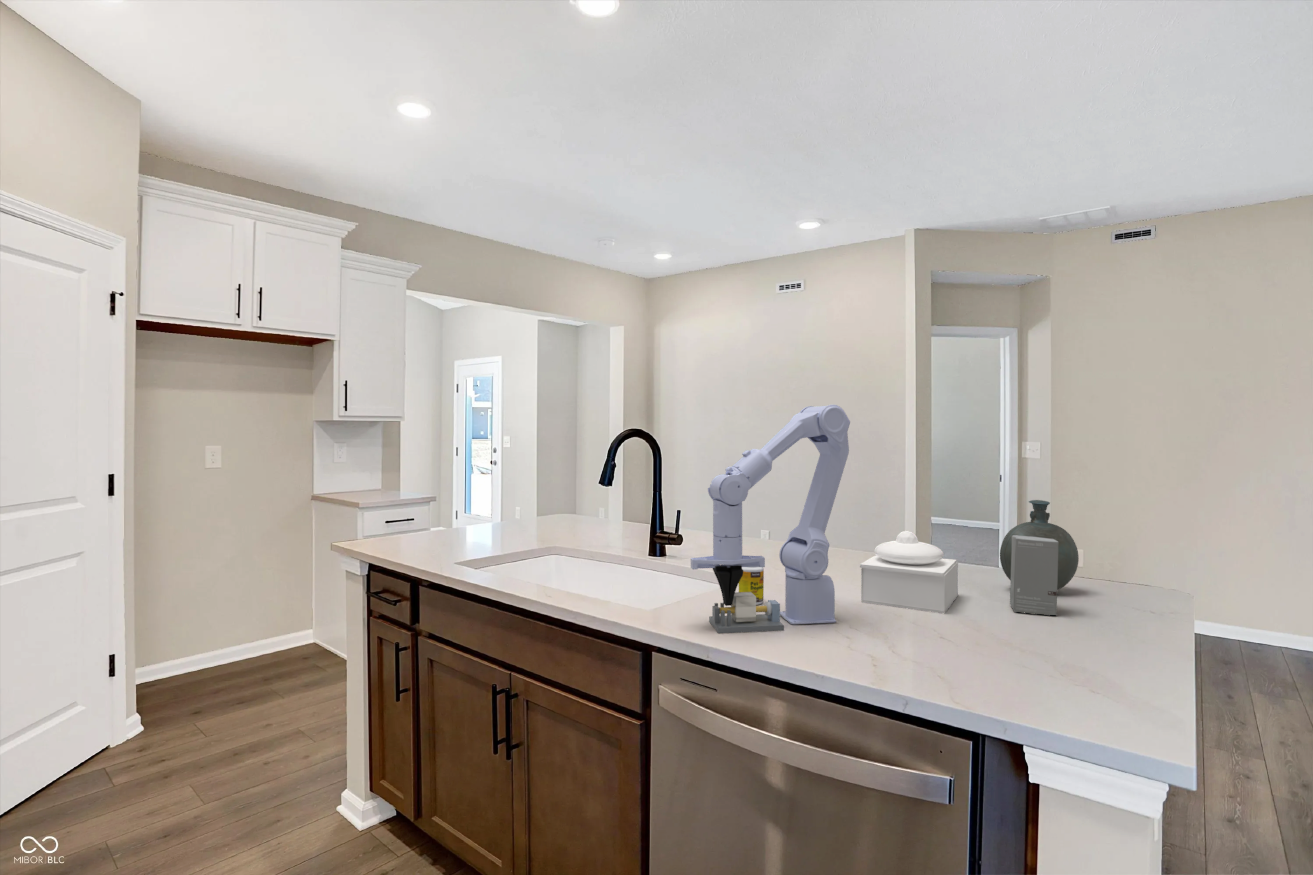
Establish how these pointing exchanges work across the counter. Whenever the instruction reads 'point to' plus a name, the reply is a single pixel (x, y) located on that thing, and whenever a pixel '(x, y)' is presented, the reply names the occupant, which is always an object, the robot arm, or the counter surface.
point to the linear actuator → (762, 623)
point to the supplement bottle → (753, 582)
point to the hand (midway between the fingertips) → (727, 604)
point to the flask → (1043, 530)
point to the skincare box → (1034, 575)
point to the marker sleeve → (744, 607)
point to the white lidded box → (909, 576)
